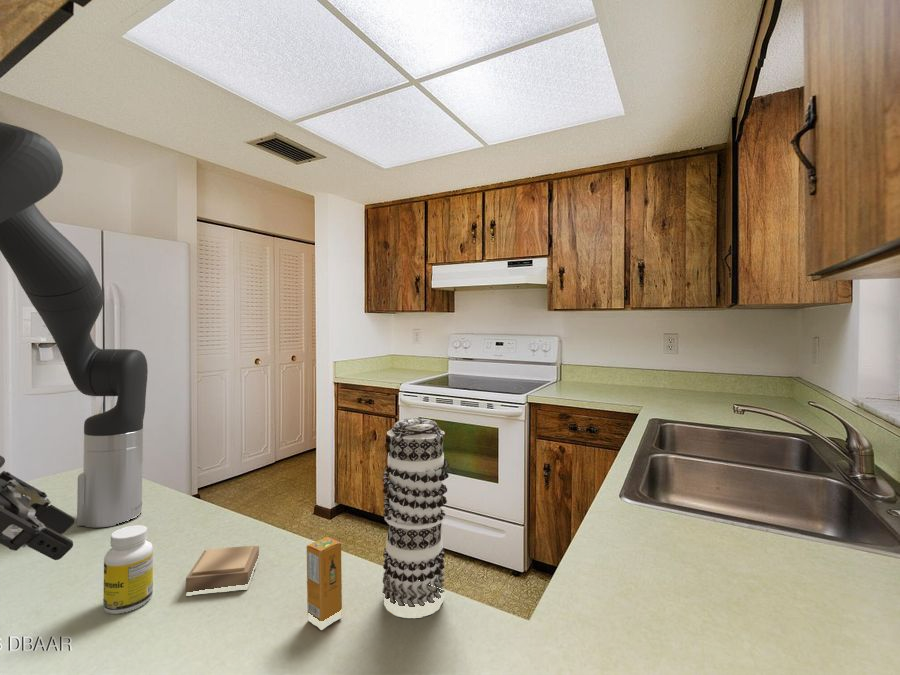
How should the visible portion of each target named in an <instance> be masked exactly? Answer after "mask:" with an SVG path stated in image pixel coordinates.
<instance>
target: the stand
mask: <svg viewBox="0 0 900 675" xmlns="http://www.w3.org/2000/svg"><path fill="white" fill-rule="evenodd" d="M258 556H259V557H260V545H245V546H231V547H221V548H210V549H209V548H208V549H206V550H203V552H202V553H201V555H200V557H199V558H198V560H197V561H196V562H195V563H194V566H193V567H192V569H191V570H190V572H188V574H187V576H186V577H185V593H186V592H193V591H199V590H205V589H214V588H221V587H228V586H236V585H245V584H248V582H249V580H250V577H251V574H252V571H253V568H254V566H255V563H256V561H257V559H258Z"/></svg>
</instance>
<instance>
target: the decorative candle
mask: <svg viewBox="0 0 900 675" xmlns="http://www.w3.org/2000/svg"><path fill="white" fill-rule="evenodd" d="M445 434H446V433H445V431H444V430H442V429H441V428H440V427H439V425H438V423H437V422H436V421H435V420H431V419H427V418H418V417H417V418H413V417H412V418H405V419H400V420H398V421H396V422H395V423H394V425H393V426H392V428H391V429H389V430H388V431H386V435H387V436H388V437H389V440H388V447H389V448H388V453H387V465H386V466H384V472H383V475H382V476H383V477H382V482H383V486H382V487H383V488H382V493H384V496H385V497H384V499H383V501H384V502H383V505H382V506H383V512H384V513H383V517H384V521H385V522H386V523H387V535H386V542H385V548H384V552H383V558H384V560H383V562H384V563H383V566H382V567H383V569H384V572H383V577H382V584H383V588H382V594H383V593H384V594H385V598H386V599H389V598H390V602H391V603H393V604H395V603H396V601H397V602H398V605H399V606H405V604H408V606H409V607H415V605H414V604H419V605H420V606H424V605H425V603H424V602H427V601H428V602H429V603H434V602H435V601H434V600H433V598H435V597H436V598H438V599H439V598H441V595H440V594H439V592H440V593H443V592H444V593H445V589H444V588H443V587H444V586H445V585H444V582H445V581H446V580H445V577H443V576H444V575H445V573H444V571H443V570H444V569H445V564H444V563H445V561H444V560H445V556H446V553H445V548H444V547H443V535H442V525H443V524H442V522H443V521H444V520H445V519H446V513H445V510H444V509H442V507H443V506H445V505H446V504H447V503H448V500H447V497H446V496H444V495H445V494H446V493H447V492H448V487H447V486H446V485H445V484H444V483H442V482H444V481H445V480H446V479H448V478H449V473H448V472H447V471H446V470H445V469H446V468H448V467H450V462H448V460H447V459H445V453H444V435H445ZM419 580H420V581H419ZM429 584H430V585H429ZM431 585H433V586H431ZM434 586H435V587H434ZM437 587H438V588H437ZM439 588H441V589H444V590H441V589H439ZM440 590H441V591H440ZM395 600H396V601H395ZM404 603H405V604H404Z"/></svg>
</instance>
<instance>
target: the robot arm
mask: <svg viewBox="0 0 900 675" xmlns="http://www.w3.org/2000/svg"><path fill="white" fill-rule="evenodd" d="M63 171H64V166H63V160H62V157H61V154H60V152H59V151H58V149H57V148H56V145H54V144H53V143H52V141H50V140H48V139H47V137H45V136H43V135H41V134H40V133H38V132H36V131H33V130H29V129H28V128H25V127H21V126H18V125H13V124H9V123H6V122H1V121H0V252H1V254H2V256H3V257H4V259H5V261H6V262H7V263H8V265H9V267H10V268H11V270H12V271H13V273H14V275H15V277H16V278H17V281H18V283H19V285H20V286H21V288H22V289H23V291H24V292H25V294H26V296H27V298H28V299H29V302H31V304H32V306H33V308H34V309H35V310H36V312H37V313H38V315H39V316H40V317H41V320H42V321H43V324H45V326H46V328H47V330H48V331H49V333H50V335H51V336H52V339H53V341H54V342H55V344H56V347H57V348H58V350H59V352H60V355H61V357H62V360H63V362H64V364H65V366H66V367H65V368H66V369H67V371H68V372H67V373H68V374H69V376H70V379H71V380H72V383H73V384H74V386H75V388H76V389H77V390H78V391H79V392H80V393H82V394H83V395H85V396H89V397H117V400H116V404H115V406H114V407H112V408H110V409H108V410H107V411H103V412H101V413H97V414H94V415H91V416H89V417H88V418H86V419H85V420H84V423H83V471H82V473H79V474H78V475H77V491H76V492H77V494H76V495H77V497H76V498H77V501H76V502H77V503H76V504H77V505H76V506H77V507H76V508H77V509H76V520H75V517H74V516H72V515H70V514H68V513H67V512H65V511H63V510H62V509H60V508H58V507H56V506H55V505H53V504H51V503H52V502H51V500H50V499H49V498H48V495H47V494H46V492H44V491H42V490H40V489H38V488H36V487H34V486H32V485H30V483H27V482H25V481H24V480H22V479H20V478H19V477H17V476H15V475H13V474H11V473H10V472H9V471H5V470H3V471H2V472H0V544H1V545H3V546H4V547H6V548H8V549H9V550H11V551H16V552H17V551H18V550H19V549H20V548H26V546H27V547H28V548H30V549H32V550H34V551H36V552H38V553H39V554H42V555H44V556H46V557H48V558H50V559H52V560H54V561H58V560H61V559H62V558H63V557H64V556H65V555H66V554H67V553H68V552H69V551H71V549H73V546H74V542H73V540H71V539H70V538H69V537H66V536H64V535H63V534H64V533H66V531H68V529H70V528H71V527H72V526H73V525H74V524H75V521H76V527H81V526H82V527H87V528H106V527H113V526H117V525H116V524H118V525H120V524H119V523H122V522H124V521H127V520H129V519H131V518H133V517H135V516H137V515H138V514H139V513H140V512H141V510H143V464H144V463H143V458H144V457H143V456H144V455H143V454H144V453H143V450H144V449H143V448H144V442H143V441H144V418H145V412H146V399H147V397H146V396H147V387H148V386H147V384H148V371H149V370H148V361H147V358H146V356H145V354H144V352H142V351H141V350H138V349H132V348H131V349H129V348H127V349H126V348H123V349H121V348H117V349H116V348H99V346H97V345H96V343H94V340H93V338H92V336H91V332H92V329H93V327H94V325H95V323H96V321H97V319H98V318H99V315H100V313H101V311H102V309H103V305H104V299H105V297H104V292H103V289H102V287H101V284H100V283H99V280H98V278H97V276H96V274H95V271H94V269H93V268H92V266H91V264H90V263H89V261H88V259H87V257H85V256H84V254H83V253H82V252H81V251H80V250H79V249H78V248H77V247H76V246H75V245H74V244H73V243H72V242H71V241H70V240H69V239H67V237H66V236H64V235H63V233H61V232H60V231H59V230H58V229H57V228H56V227H54V225H52V223H51V222H50V221H49V220H48V219H47V218H46V217H45V216H44V215H43V213H41V211H40V210H39V209H38V207H37V206H36V204H37V203H38V202H40V201H41V200H43V199H44V198H46V197H47V196H49V195H50V194H51V193H53V191H54V190H56V188H57V187H58V185H59V184H60V183H61V180H62V177H63ZM5 462H6V458H5V457H4V456H2V455H0V469H2V467H3V466H4V465H5ZM122 524H123V523H122ZM19 529H22V530H20V532H18V531H19Z"/></svg>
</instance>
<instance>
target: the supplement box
mask: <svg viewBox="0 0 900 675" xmlns="http://www.w3.org/2000/svg"><path fill="white" fill-rule="evenodd" d="M342 577H343V576H342V543H341V542H340V541H337V540H335V539H333V538H330V537H328V536H325V537H324V538H321V539H318V540H316V541H314V542H312V543H310V544H307V545H306V590H307V592H306V594H307V596H306V597H307V599H306V600H307V603H306V604H307V614H308V613H310V614H311V615H313V617H315V618H317V619H318V620H319V621H324V620H325V619H327V618H329V617H330V616H332V615H334V614H335V613H337V612H339V611H340V610H341V609H342V610H343V604H342V603H343V602H342V601H343V599H342V598H343V594H342V588H343V586H342V585H343V584H342V583H343V581H342V580H343V579H342Z"/></svg>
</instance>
